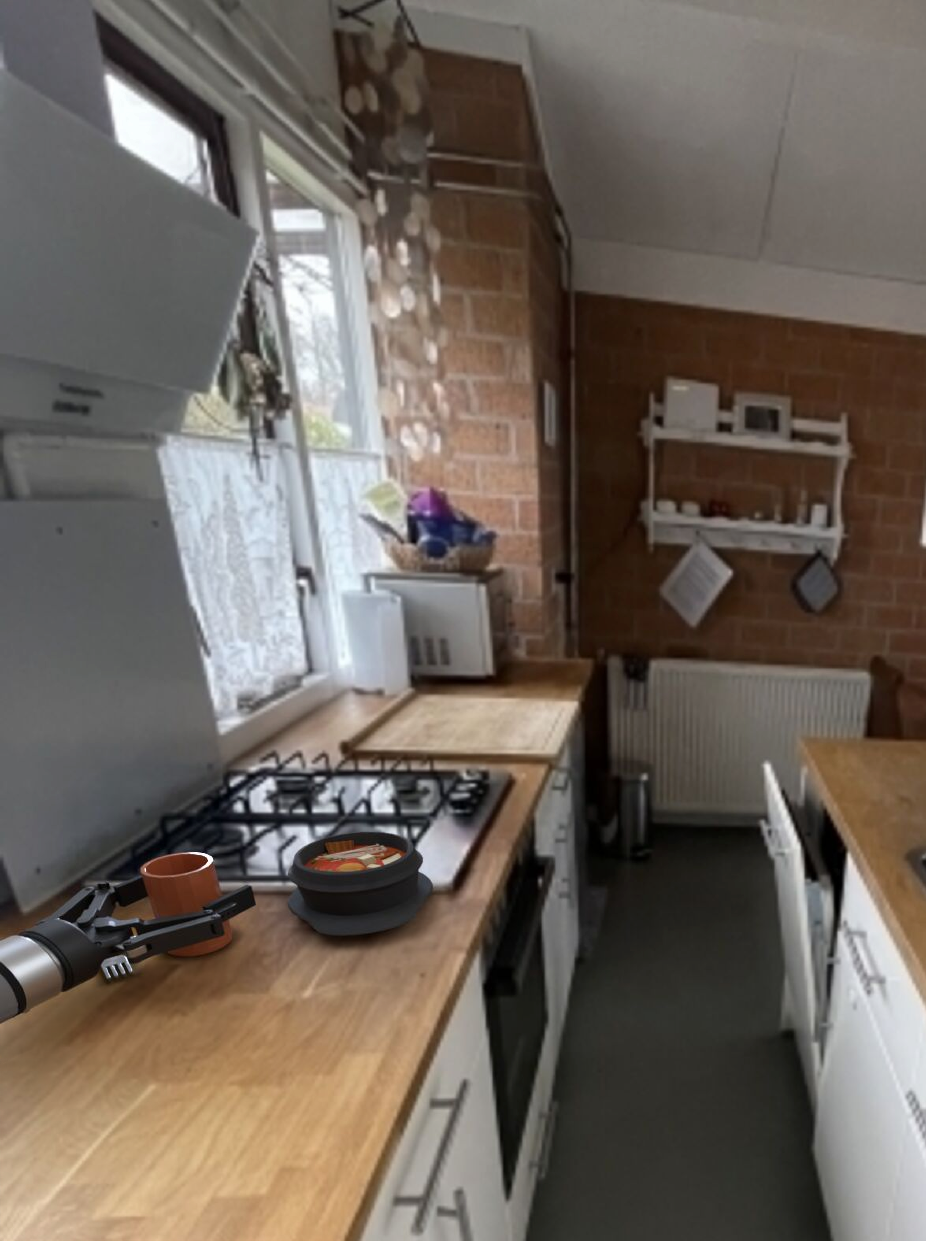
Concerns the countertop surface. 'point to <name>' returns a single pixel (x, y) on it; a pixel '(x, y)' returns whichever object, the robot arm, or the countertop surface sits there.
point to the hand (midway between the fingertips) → (208, 885)
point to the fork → (114, 963)
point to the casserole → (358, 883)
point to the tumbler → (184, 892)
